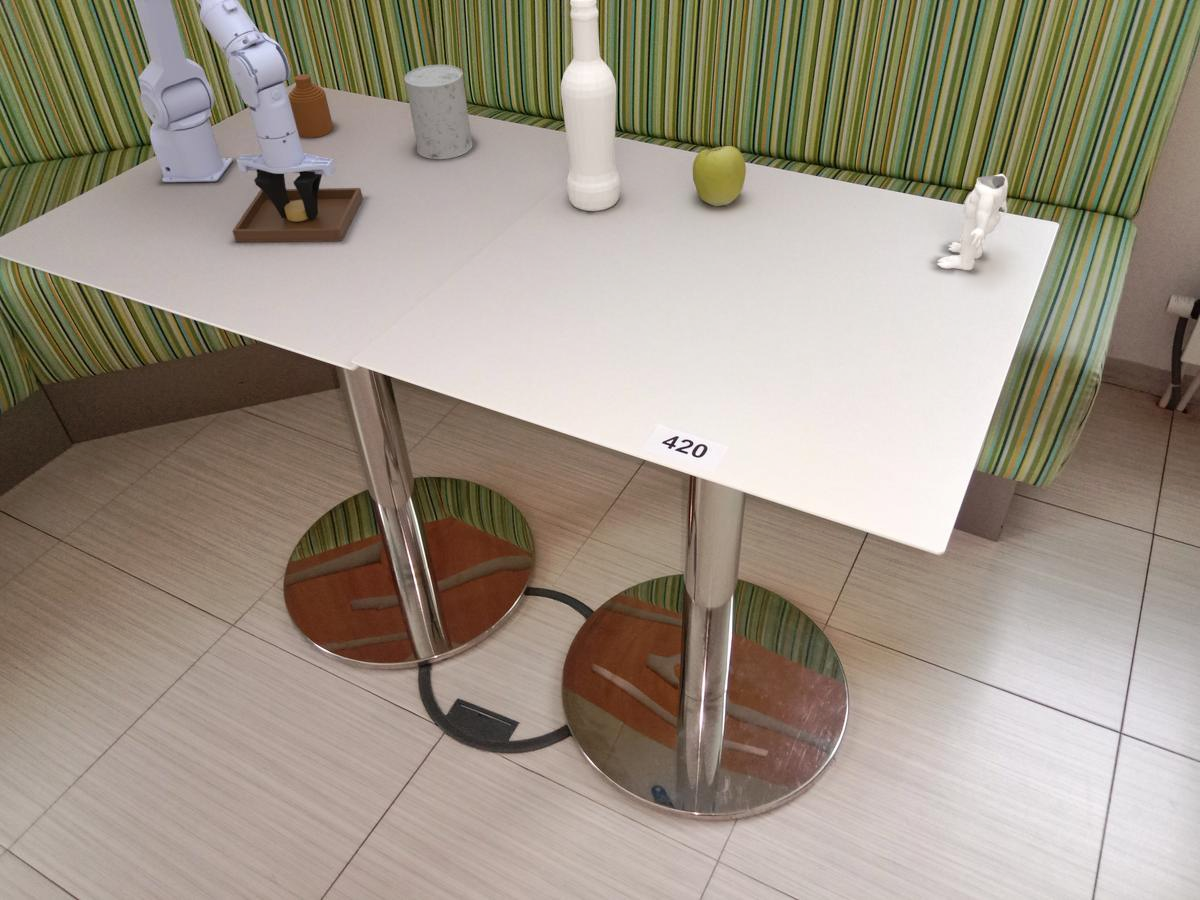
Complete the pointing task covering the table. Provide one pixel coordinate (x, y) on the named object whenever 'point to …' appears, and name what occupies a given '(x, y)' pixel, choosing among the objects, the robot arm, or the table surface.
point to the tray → (326, 226)
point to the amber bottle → (310, 108)
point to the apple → (719, 175)
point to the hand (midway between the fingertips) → (300, 216)
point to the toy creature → (978, 221)
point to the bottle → (589, 115)
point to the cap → (295, 211)
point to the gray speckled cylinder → (439, 111)
